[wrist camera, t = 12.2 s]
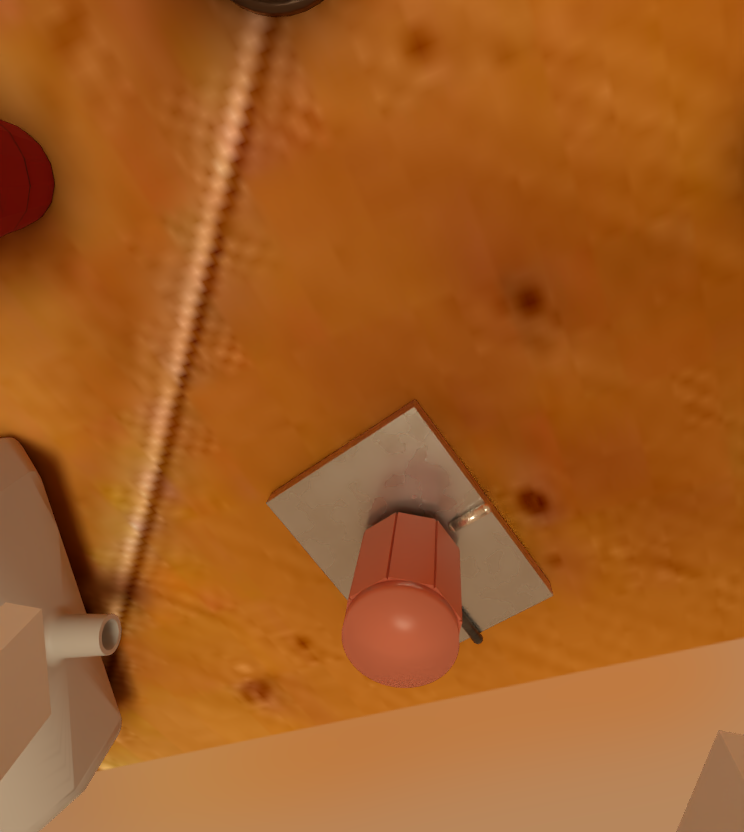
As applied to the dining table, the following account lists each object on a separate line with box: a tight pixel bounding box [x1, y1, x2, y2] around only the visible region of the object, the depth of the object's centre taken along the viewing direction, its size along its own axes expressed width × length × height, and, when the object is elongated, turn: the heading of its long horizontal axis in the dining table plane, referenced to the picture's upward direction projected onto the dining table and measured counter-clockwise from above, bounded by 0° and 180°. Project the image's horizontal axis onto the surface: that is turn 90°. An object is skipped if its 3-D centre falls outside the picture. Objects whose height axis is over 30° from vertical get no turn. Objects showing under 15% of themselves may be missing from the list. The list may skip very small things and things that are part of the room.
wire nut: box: [342, 512, 462, 688], centre depth 36 cm, size 6×6×8 cm
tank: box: [0, 437, 122, 832], centre depth 42 cm, size 25×16×12 cm, turn 7°
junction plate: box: [266, 400, 553, 644], centre depth 38 cm, size 16×12×10 cm
